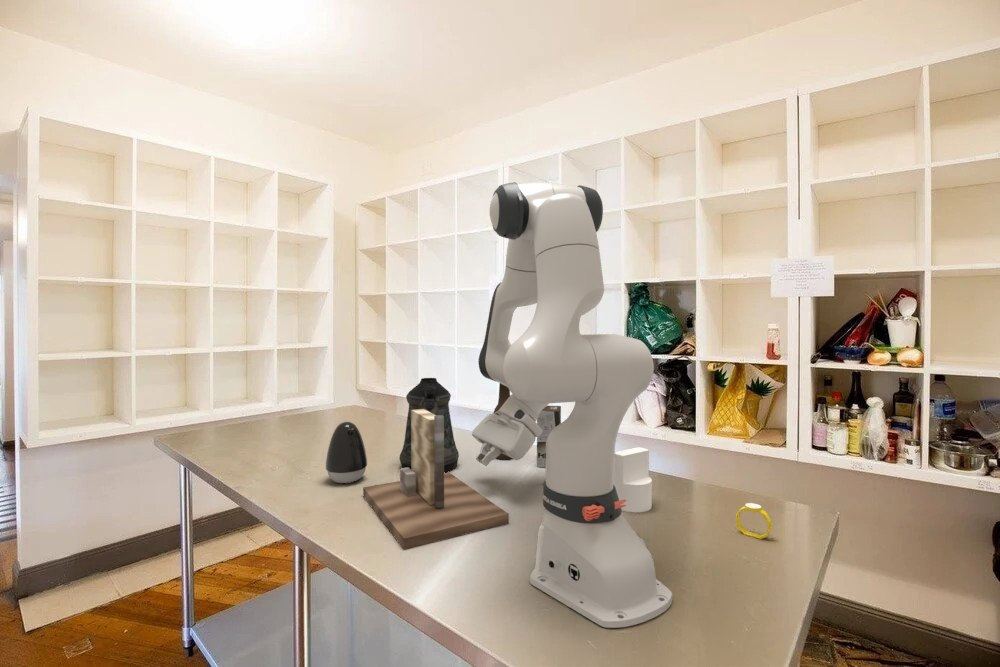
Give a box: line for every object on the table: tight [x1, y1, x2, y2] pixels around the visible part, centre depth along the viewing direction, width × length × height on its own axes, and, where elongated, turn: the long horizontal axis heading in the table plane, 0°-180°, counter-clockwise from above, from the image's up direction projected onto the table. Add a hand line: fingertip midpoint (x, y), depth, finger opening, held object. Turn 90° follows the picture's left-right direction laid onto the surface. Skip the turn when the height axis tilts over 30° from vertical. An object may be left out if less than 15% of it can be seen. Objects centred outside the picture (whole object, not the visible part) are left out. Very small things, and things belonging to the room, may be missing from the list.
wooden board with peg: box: [362, 467, 510, 550], centre depth 104 cm, size 30×22×7 cm
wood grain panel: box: [411, 409, 444, 508], centre depth 105 cm, size 16×3×19 cm, turn 28°
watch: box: [735, 502, 773, 540], centre depth 91 cm, size 6×3×6 cm, turn 49°
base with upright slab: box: [613, 446, 653, 513], centre depth 106 cm, size 9×9×12 cm
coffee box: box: [536, 405, 562, 468], centre depth 136 cm, size 9×6×16 cm
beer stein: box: [399, 377, 460, 473], centre depth 132 cm, size 16×19×25 cm
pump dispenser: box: [325, 421, 368, 484], centre depth 122 cm, size 10×10×15 cm
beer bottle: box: [493, 383, 514, 461], centre depth 143 cm, size 8×8×24 cm
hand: (480, 462), depth 112 cm, fingers closed
